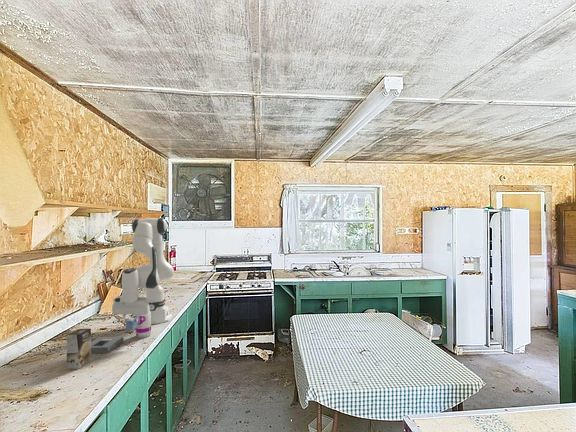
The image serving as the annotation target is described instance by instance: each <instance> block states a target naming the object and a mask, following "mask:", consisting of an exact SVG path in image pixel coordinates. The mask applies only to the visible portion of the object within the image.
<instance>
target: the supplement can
mask: <svg viewBox="0 0 576 432" xmlns="http://www.w3.org/2000/svg"><path fill="white" fill-rule="evenodd" d="M136 317H137V316H136V315H135V318H136ZM138 320H139V321H138V326H137V327H136V328H135V337H137V338H138V339H142V338H143V339H144V338H147V337H149V336H150V335H152V324H151V312H150V311H149V313H147V314H140V316H139V318H138Z"/></svg>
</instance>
